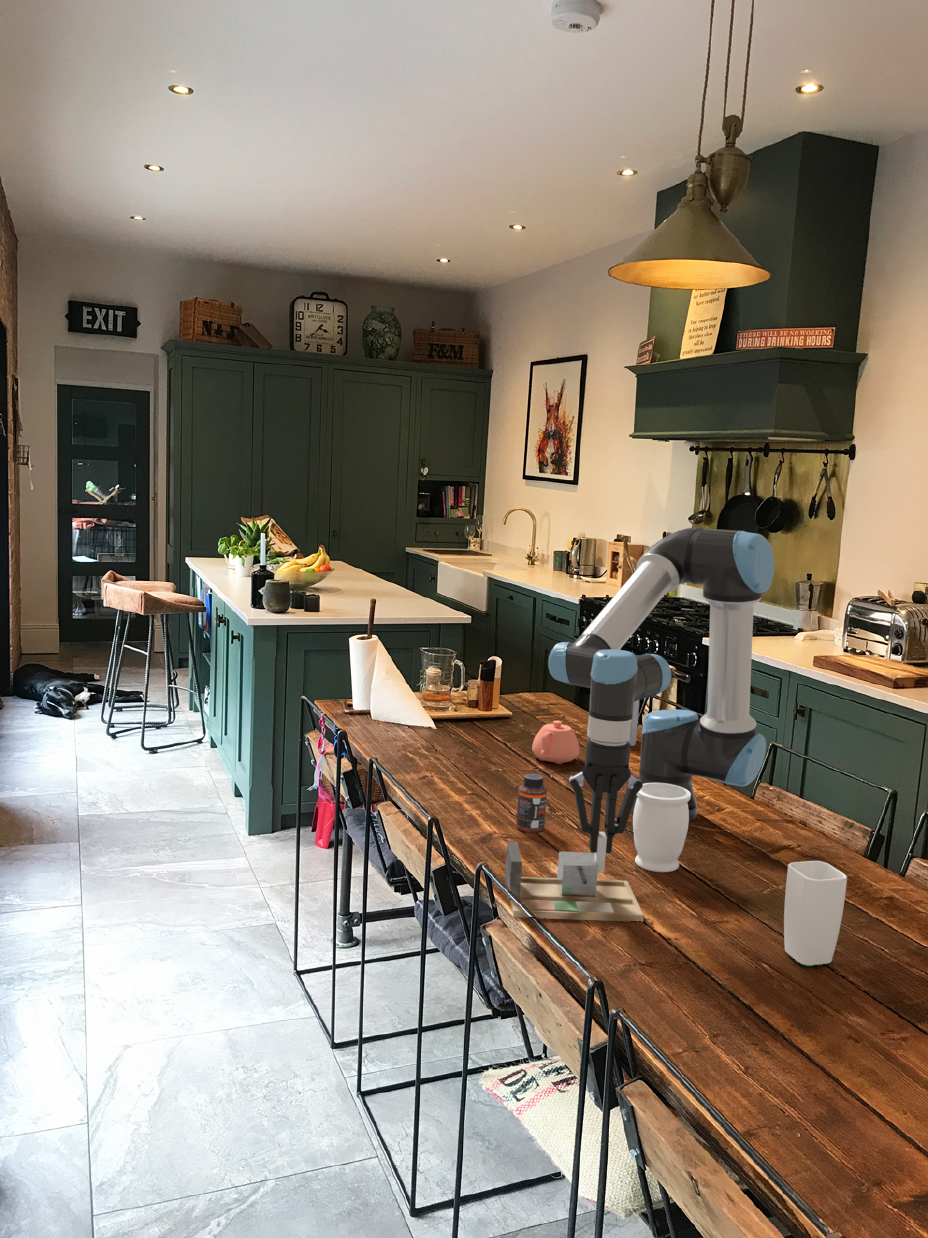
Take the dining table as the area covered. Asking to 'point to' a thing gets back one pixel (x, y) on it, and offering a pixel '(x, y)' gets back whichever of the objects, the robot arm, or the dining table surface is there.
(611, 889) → the gauge board
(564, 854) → the block
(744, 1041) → the dining table surface
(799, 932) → the cup
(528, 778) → the supplement bottle
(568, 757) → the sugar bowl
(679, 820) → the jar
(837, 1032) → the dining table surface
